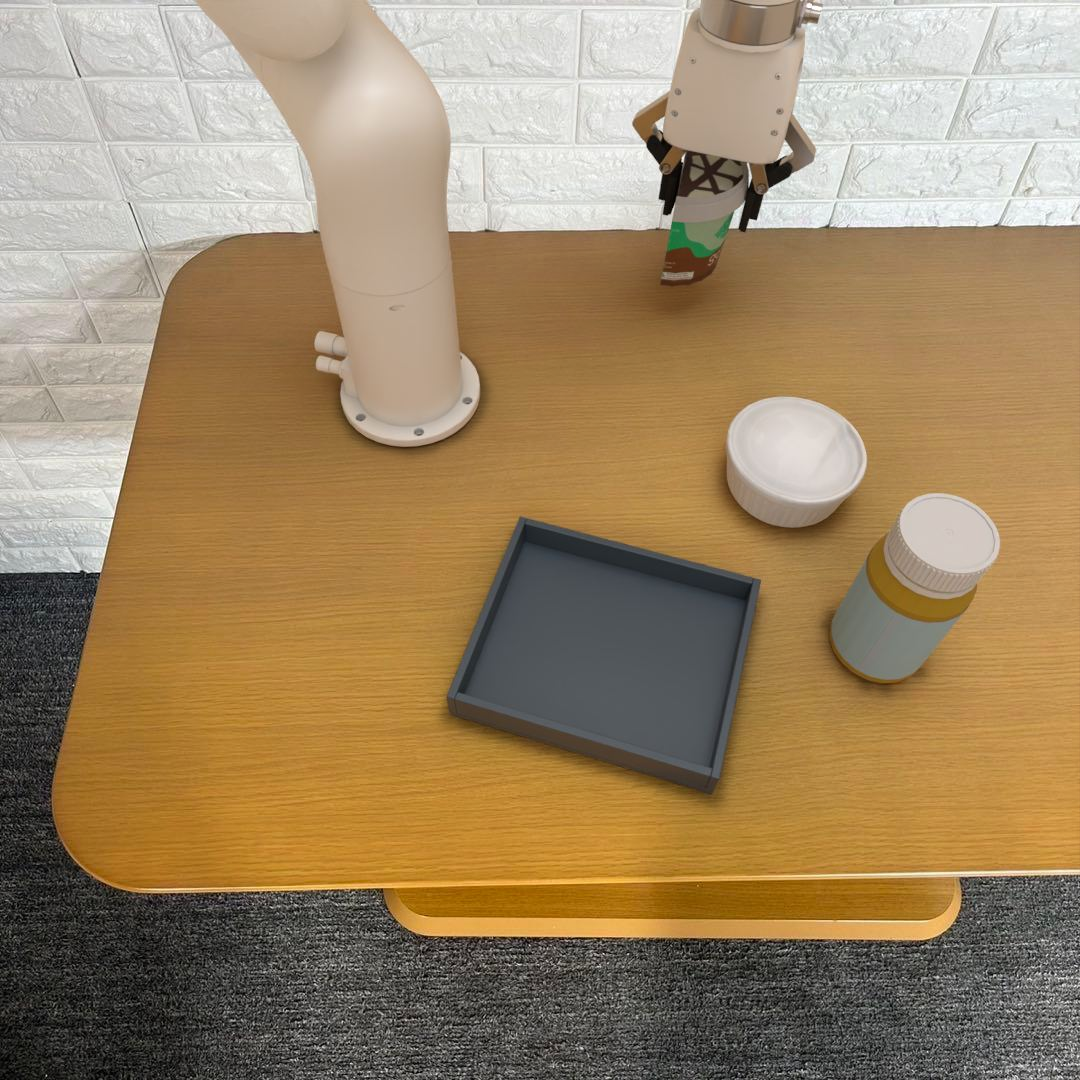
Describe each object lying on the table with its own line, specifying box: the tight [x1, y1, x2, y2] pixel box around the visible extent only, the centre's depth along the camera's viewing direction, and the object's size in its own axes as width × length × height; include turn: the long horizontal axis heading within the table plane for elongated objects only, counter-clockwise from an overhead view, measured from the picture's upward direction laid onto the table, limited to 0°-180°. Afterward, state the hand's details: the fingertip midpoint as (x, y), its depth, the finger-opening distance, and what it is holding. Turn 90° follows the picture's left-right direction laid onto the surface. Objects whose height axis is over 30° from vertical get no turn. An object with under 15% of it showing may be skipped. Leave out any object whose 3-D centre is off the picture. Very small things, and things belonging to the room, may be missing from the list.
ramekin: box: [725, 396, 868, 529], centre depth 74 cm, size 11×11×5 cm
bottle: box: [829, 492, 1001, 684], centre depth 62 cm, size 7×7×15 cm
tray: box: [446, 516, 762, 795], centre depth 66 cm, size 19×16×3 cm
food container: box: [659, 150, 750, 287], centre depth 82 cm, size 12×6×10 cm, turn 168°
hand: (707, 213), depth 82 cm, fingers closed on food container, 6 cm apart
